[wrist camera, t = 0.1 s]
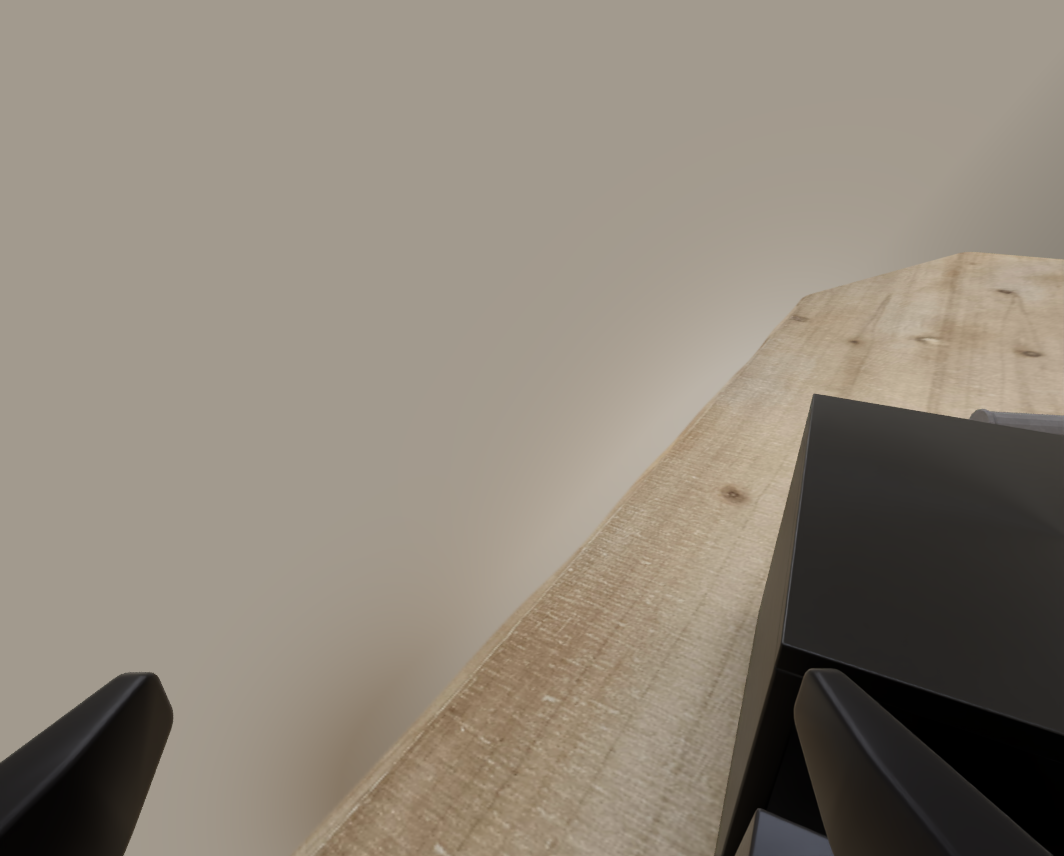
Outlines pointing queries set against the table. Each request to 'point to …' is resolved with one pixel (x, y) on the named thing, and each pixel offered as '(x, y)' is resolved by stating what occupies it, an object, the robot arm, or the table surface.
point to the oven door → (781, 838)
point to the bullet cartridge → (1022, 420)
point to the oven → (915, 608)
